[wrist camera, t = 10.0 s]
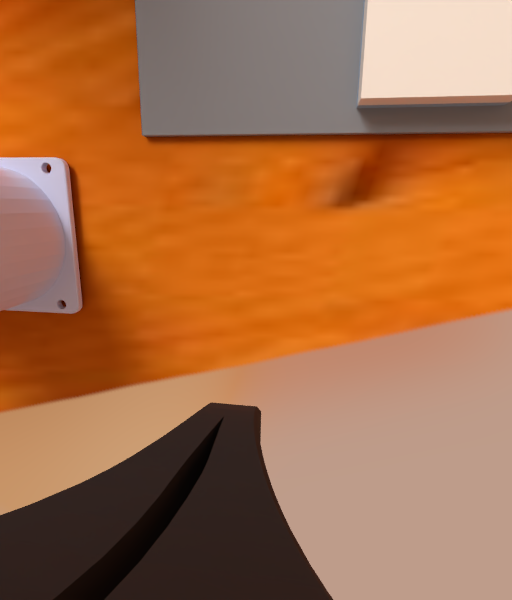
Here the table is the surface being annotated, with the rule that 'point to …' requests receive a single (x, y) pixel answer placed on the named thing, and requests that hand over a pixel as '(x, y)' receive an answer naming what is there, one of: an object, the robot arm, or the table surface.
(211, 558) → the robot arm
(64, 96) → the table surface
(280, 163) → the table surface
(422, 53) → the tile
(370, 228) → the table surface
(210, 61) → the mat
